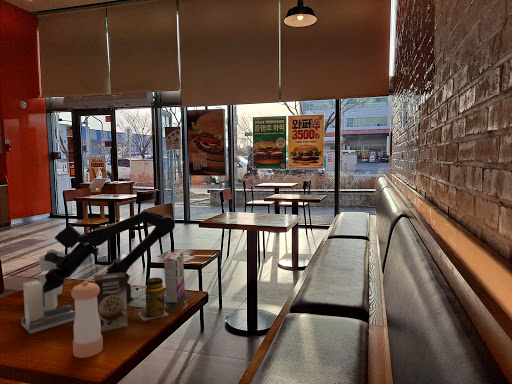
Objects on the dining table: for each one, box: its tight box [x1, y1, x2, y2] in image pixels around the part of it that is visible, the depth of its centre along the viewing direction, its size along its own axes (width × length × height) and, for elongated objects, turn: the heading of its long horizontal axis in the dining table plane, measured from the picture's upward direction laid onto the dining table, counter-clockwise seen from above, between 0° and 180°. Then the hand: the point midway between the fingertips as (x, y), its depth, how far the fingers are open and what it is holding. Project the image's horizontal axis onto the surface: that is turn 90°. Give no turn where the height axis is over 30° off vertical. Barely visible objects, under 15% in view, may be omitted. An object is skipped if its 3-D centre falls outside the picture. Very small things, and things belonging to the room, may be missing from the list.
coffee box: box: [93, 272, 128, 332], centre depth 112 cm, size 9×6×16 cm
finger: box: [37, 271, 58, 312], centre depth 127 cm, size 5×4×13 cm
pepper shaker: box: [70, 280, 104, 359], centre depth 96 cm, size 7×7×19 cm
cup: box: [38, 254, 63, 296], centre depth 142 cm, size 8×8×16 cm
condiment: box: [137, 277, 169, 321], centre depth 120 cm, size 7×8×12 cm
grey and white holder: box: [21, 279, 75, 335], centre depth 115 cm, size 14×9×14 cm, turn 137°
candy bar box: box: [163, 251, 186, 304], centre depth 135 cm, size 11×5×16 cm, turn 179°
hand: (44, 289), depth 127 cm, fingers open, 9 cm apart
